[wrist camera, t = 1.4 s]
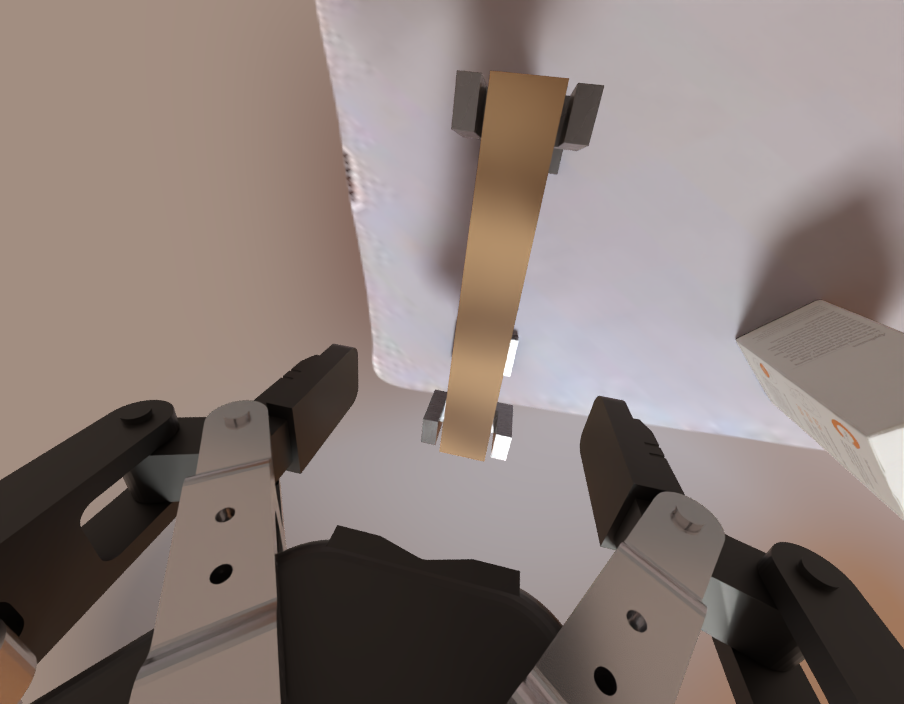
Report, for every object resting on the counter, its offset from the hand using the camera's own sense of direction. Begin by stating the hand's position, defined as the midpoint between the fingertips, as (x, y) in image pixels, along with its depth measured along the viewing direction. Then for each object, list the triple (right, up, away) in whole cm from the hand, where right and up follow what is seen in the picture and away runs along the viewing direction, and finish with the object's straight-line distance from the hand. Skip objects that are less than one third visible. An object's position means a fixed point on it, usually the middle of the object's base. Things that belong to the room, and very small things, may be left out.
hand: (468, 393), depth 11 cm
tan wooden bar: (+2, +5, +9) cm, 10 cm away
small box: (+29, +1, +18) cm, 34 cm away
